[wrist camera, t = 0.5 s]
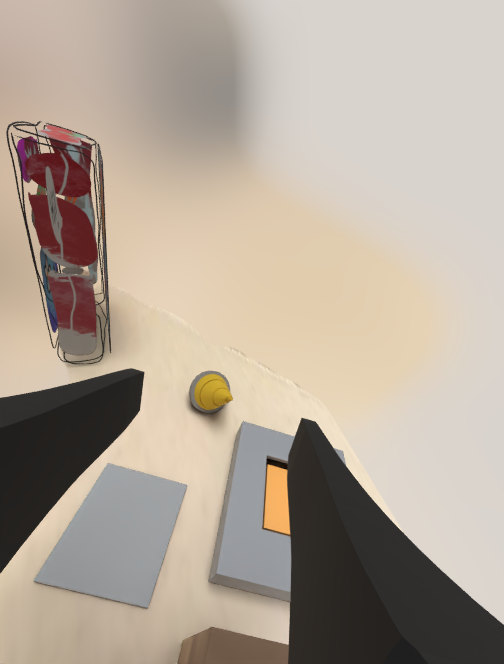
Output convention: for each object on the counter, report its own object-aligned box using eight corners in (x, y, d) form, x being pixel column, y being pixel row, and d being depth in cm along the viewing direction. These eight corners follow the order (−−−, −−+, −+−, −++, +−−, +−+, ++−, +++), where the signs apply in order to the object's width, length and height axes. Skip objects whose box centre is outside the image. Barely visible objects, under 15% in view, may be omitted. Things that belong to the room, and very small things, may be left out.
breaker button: (318, 545, 22) (321, 543, 21) (261, 530, 21) (263, 527, 21) (311, 481, 26) (315, 477, 26) (265, 467, 26) (267, 464, 25)
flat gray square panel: (147, 608, 17) (147, 607, 16) (34, 581, 16) (33, 580, 16) (186, 486, 23) (187, 484, 23) (107, 465, 23) (107, 463, 23)
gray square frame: (357, 618, 19) (378, 614, 18) (208, 581, 19) (216, 573, 17) (331, 462, 30) (342, 451, 29) (236, 434, 29) (242, 421, 28)
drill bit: (225, 388, 36) (261, 399, 27) (199, 415, 33) (229, 435, 25) (204, 362, 34) (235, 364, 26) (175, 387, 32) (198, 399, 23)
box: (116, 412, 27) (107, 170, 14) (47, 426, 24) (-52, 126, 11) (106, 300, 43) (98, 138, 30) (64, 299, 40) (34, 117, 27)
